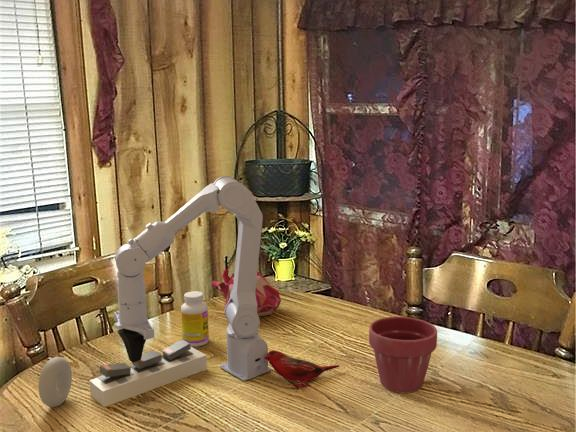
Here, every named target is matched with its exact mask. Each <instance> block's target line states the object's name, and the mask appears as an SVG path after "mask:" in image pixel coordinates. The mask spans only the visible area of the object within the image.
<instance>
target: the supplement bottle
mask: <svg viewBox="0 0 576 432" xmlns="http://www.w3.org/2000/svg"><path fill="white" fill-rule="evenodd" d="M183 300H184V303H182V305H181V306H180V315H181V316H180V317H181V335H182V336H181V337H182V339H181V340H184V341H186V342H188V343H190V347H193V348H197V347H201V346H205V345H206V344H208V343H209V340H210V339H209V338H210V337H209V330H210V329H209V313H208V312H209V311H208V310H209V309H208V308H209V307H208V304H207V303H206V302H204V301H203V300H204V293H203V292H201V291H196V290H195V291H193V290H192V291H188V292H185V293H184V295H183Z"/></svg>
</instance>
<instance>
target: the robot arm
mask: <svg viewBox="0 0 576 432" xmlns="http://www.w3.org/2000/svg"><path fill="white" fill-rule="evenodd" d="M220 206H222V208H223V209H224V210H226V211H228V212H230V213H232V214H233V215H234V217H235V218H236V219H238V222H239V224H238V231H237V232H238V233H237V244H236V254H235V255H236V256H235V263H234V284H233V289H232V291H231V293H230V299H229V301H228V303H227V305H226V307H225V309H224V316H225V318H226V320H227V321H228V322H229V323H228V326H227V327H226V330H225V331H226V332H225V333H226V336H225V337H226V350H227V351H226V356H227V359H226V361H227V362H225V363H222V364H220V365H219V368H221V369H222V370H223V371H225V372H227V373H228V374H231V375H232V376H234V377H236V378H238V379H239V380H241V381H244V382H245V381H248V380H251V379H253V378H256V377H257V376H261V375H263V374H265V373H268V372H270V371H272V367H270V366H269V361H268V360H267V359H263V358H264V357H265V356H267V354H268V353H269V349H268V346H269V345H268V344H267V342H266V340H264V339H263V338H262V337H261V335H260V332H259V328H260V324H261V321H260V316H259V317H258V314H257V301H256V295H255V290H256V280H257V271H259V270H258V268H259V260H260V259H259V257H260V248H261V237H262V230H263V229H262V228H263V220H264V219H263V218H264V216H263V213H262V211H261V209H260V207H259V205H258V203H257V201H256V200H255V198H254V196H253V192H252V191H251V190H249V188H247V187H246V186H245V185H244V184H243V183H242V182H239V181H238V180H237V179H235V178H234V177H232V176H229V175H223V176H220V177H218V178H216V179H215V181H214V182H213V183H212V182H211V183H209V184H208V185H207V186H205V187H204V188H203V189H201V191H199V192H198V193H196V195H194V196H193V197H192V198H191V199H190V200H189V201H187V202H186V203H185V204H184V205H183V206H182V207H181V208H179V209H178V210H177V211H176V212H175V213H174V214H172V215H171V216H170V217H169V218H168V219H167V220H166V221H158V220H157V221H154V223H152V222H149V223H148V224H146V225H145V229H144V230H143V231H142V232H140V234H138V235H137V236H136V237H135V238H132V237H131V238H130V239H128V241H127V244H123V245H121V246H119V248H118V249H117V251H116V253H115V256H114V261H115V265H116V269H117V273H116V276H117V282H116V284H117V287H116V288H117V299H118V300H117V302H118V304H117V305H118V311H114V312H113V320H114V321H115V323H114V324H113V325H114V328H116V329H117V334H118V335H119V336H120V339H121V341H122V342H123V345H124V348H125V350H126V354H127V357H128V360H129V361H130V362H131V364H132V363H133V362H136V361H139V360H141V357H142V354H144V353H143V352H144V348H145V344H146V343H147V341H148V340H150V339H154V338H155V328H153V327H152V325H151V323H150V321H149V319H148V316H147V315H148V313H147V296H146V295H147V294H146V280H145V278H144V270H145V268H146V264H147V262H150V261H152V260H153V259H155V258H156V257H157V256H159V255H160V253H162V252H164V250H166V249H167V248H168V247H170V246H171V245H172V244H174V242H175V236H176V234H177V233H178V232H180V231H181V230H183V228H185V227H186V226H187V225H189V224H190V223H192V222H194V220H196V219H198V218H199V217H200V216H201V215H203V214H205V213H209V212H213V213H214V212H221V208H220Z"/></svg>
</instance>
